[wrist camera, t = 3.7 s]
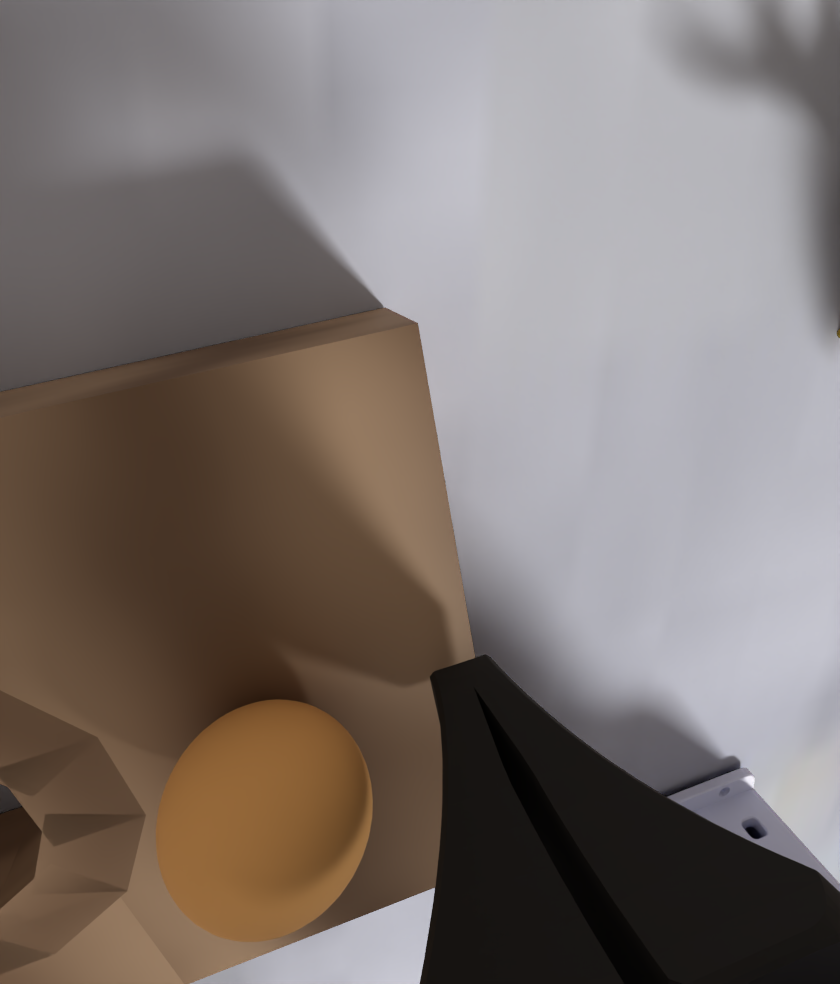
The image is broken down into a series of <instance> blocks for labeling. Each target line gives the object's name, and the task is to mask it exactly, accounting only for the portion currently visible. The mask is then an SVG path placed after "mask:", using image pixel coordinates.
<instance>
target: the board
mask: <svg viewBox="0 0 840 984" xmlns="http://www.w3.org/2000/svg"><path fill="white" fill-rule="evenodd" d="M473 658H475V653H474V648H473V642H472V636H471V630H470V624H469V619H468V613H467V607H466V601H465V595H464V589H463V584H462V578H461V572H460V566H459V560H458V555H457V549H456V543H455V537H454V531H453V525H452V520H451V514H450V508H449V502H448V496H447V491H446V485H445V479H444V473H443V467H442V462H441V456H440V450H439V444H438V438H437V432H436V427H435V421H434V415H433V409H432V403H431V398H430V392H429V386H428V380H427V374H426V368H425V363H424V357H423V351H422V345H421V339H420V334H419V328H418V323H416V322H414V321H412V320H410V319H408V318H406V317H404V316H402V315H400V314H397V313H395V312H393V311H391V310H389V309H387V308H381V309H376V310H371V311H367V312H362V313H358V314H353V315H349V316H344V317H340V318H335V319H330V320H326V321H321V322H317V323H312V324H308V325H303V326H299V327H294V328H289V329H285V330H280V331H276V332H271V333H267V334H262V335H257V336H253V337H248V338H244V339H239V340H235V341H230V342H226V343H221V344H216V345H212V346H207V347H203V348H198V349H194V350H189V351H185V352H180V353H175V354H171V355H166V356H162V357H157V358H153V359H148V360H143V361H139V362H134V363H130V364H125V365H121V366H116V367H112V368H107V369H102V370H98V371H93V372H89V373H84V374H80V375H75V376H71V377H66V378H61V379H57V380H52V381H48V382H43V383H39V384H34V385H30V386H25V387H20V388H16V389H11V390H7V391H2V392H0V784H1V785H4V786H6V787H8V788H9V789H10V791H11V792H12V793H13V795H14V796H15V797H16V798H17V800H18V801H19V802H20V804H21V805H22V806H23V807H20V808H17V809H14V810H11V811H8V812H5V813H2V814H0V984H189V983H192V982H195V981H197V980H200V979H202V978H205V977H207V976H210V975H212V974H215V973H218V972H220V971H223V970H225V969H228V968H230V967H233V966H235V965H238V964H241V963H243V962H246V961H248V960H251V959H253V958H256V957H258V956H261V955H264V954H266V953H269V952H271V951H274V950H276V949H279V948H281V947H284V946H286V945H289V944H292V943H294V942H297V941H299V940H302V939H304V938H307V937H309V936H312V935H315V934H317V933H320V932H322V931H325V930H327V929H330V928H332V927H335V926H338V925H340V924H343V923H345V922H348V921H350V920H353V919H355V918H358V917H361V916H363V915H366V914H368V913H371V912H373V911H376V910H378V909H381V908H384V907H386V906H389V905H391V904H394V903H396V902H399V901H401V900H404V899H407V898H409V897H412V896H414V895H417V894H419V893H422V892H424V891H427V890H430V889H432V888H435V886H436V877H437V867H438V858H439V847H440V834H441V818H442V744H441V729H440V722H439V718H438V713H437V709H436V704H435V700H434V695H433V690H432V686H431V681H430V676H431V674H432V673H433V672H434V671H437V670H440V669H443V668H446V667H449V666H452V665H455V664H458V663H461V662H464V661H467V660H470V659H473ZM275 699H280V700H292V701H298V702H302V703H306V704H309V705H312V706H314V707H317V708H318V709H320V710H322V711H324V712H326V713H327V714H329V715H331V716H332V717H333V718H335V719H336V720H337V721H338V722H339V723H340V724H341V725H342V726H343V727H344V728H345V729H346V730H347V731H348V732H349V734H350V735H351V736H352V738H353V739H354V741H355V742H356V744H357V745H358V747H359V749H360V751H361V753H362V755H363V758H364V760H365V762H366V765H367V768H368V772H369V776H370V781H371V787H372V797H373V811H372V821H371V828H370V833H369V838H368V842H367V845H366V848H365V851H364V854H363V857H362V859H361V861H360V863H359V866H358V868H357V870H356V872H355V874H354V876H353V877H352V879H351V880H350V882H349V883H348V885H347V886H346V888H345V889H344V891H343V892H342V893H341V895H340V896H339V897H338V898H337V899H336V900H335V902H334V903H333V904H332V905H331V906H330V907H329V908H328V909H327V910H326V911H325V912H323V913H322V914H321V915H320V916H319V917H317V918H316V919H315V920H313V921H312V922H310V923H309V924H307V925H305V926H304V927H302V928H301V929H299V930H297V931H295V932H293V933H290V934H288V935H285V936H282V937H280V938H276V939H272V940H267V941H260V942H239V941H233V940H228V939H224V938H221V937H218V936H215V935H213V934H211V933H209V932H207V931H206V930H204V929H202V928H200V927H199V926H197V925H196V924H195V923H193V922H192V921H191V920H190V919H189V918H188V917H187V916H186V915H185V914H184V913H183V912H182V911H181V910H180V909H179V907H178V906H177V905H176V903H175V902H174V900H173V899H172V897H171V896H170V894H169V892H168V890H167V888H166V885H165V883H164V881H163V878H162V875H161V872H160V868H159V863H158V859H157V851H156V824H157V816H158V809H159V805H160V801H161V798H162V794H163V791H164V789H165V786H166V783H167V781H168V779H169V776H170V774H171V772H172V770H173V769H174V767H175V765H176V763H177V762H178V760H179V759H180V757H181V755H182V754H183V753H184V751H185V750H186V749H187V747H188V746H189V745H190V744H191V743H192V742H193V740H194V739H195V738H196V737H197V736H198V735H199V734H200V733H201V732H202V731H203V730H204V729H206V728H207V727H208V726H209V725H211V724H212V723H213V722H215V721H216V720H217V719H219V718H220V717H222V716H224V715H225V714H227V713H229V712H231V711H233V710H235V709H237V708H240V707H242V706H245V705H248V704H251V703H255V702H259V701H265V700H275Z"/></svg>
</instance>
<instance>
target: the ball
mask: <svg viewBox="0 0 840 984" xmlns="http://www.w3.org/2000/svg"><path fill="white" fill-rule="evenodd" d="M372 811H373V797H372V787H371V781H370V776H369V772H368V768H367V765H366V762H365V760H364V758H363V755H362V753H361V751H360V749H359V747H358V745H357V744H356V742H355V741H354V739H353V738H352V736H351V735H350V734H349V732H348V731H347V730H346V729H345V728H344V727H343V726H342V725H341V724H340V723H339V722H338V721H337V720H336V719H335V718H333V717H332V716H331V715H329V714H327V713H326V712H324V711H322V710H320V709H318V708H317V707H314V706H312V705H309V704H306V703H302V702H298V701H292V700H280V699H275V700H265V701H259V702H255V703H251V704H248V705H245V706H242V707H240V708H237V709H235V710H233V711H231V712H229V713H227V714H225V715H224V716H222V717H220V718H219V719H217V720H216V721H215V722H213V723H212V724H211V725H209V726H208V727H207V728H206V729H204V730H203V731H202V732H201V733H200V734H199V735H198V736H197V737H196V738H195V739H194V740H193V742H192V743H191V744H190V745H189V746H188V747H187V749H186V750H185V751H184V753H183V754H182V755H181V757H180V759H179V760H178V762H177V763H176V765H175V767H174V769H173V770H172V772H171V774H170V776H169V779H168V781H167V783H166V786H165V789H164V791H163V794H162V798H161V801H160V805H159V809H158V816H157V824H156V851H157V859H158V863H159V868H160V872H161V875H162V878H163V881H164V883H165V885H166V888H167V890H168V892H169V894H170V896H171V897H172V899H173V900H174V902H175V903H176V905H177V906H178V907H179V909H180V910H181V911H182V912H183V913H184V914H185V915H186V916H187V917H188V918H189V919H190V920H191V921H192V922H193V923H195V924H196V925H197V926H199V927H200V928H202V929H204V930H206V931H207V932H209V933H211V934H213V935H215V936H218V937H221V938H224V939H228V940H233V941H239V942H260V941H267V940H272V939H276V938H280V937H282V936H285V935H288V934H290V933H293V932H295V931H297V930H299V929H301V928H302V927H304V926H305V925H307V924H309V923H310V922H312V921H313V920H315V919H316V918H317V917H319V916H320V915H321V914H322V913H323V912H325V911H326V910H327V909H328V908H329V907H330V906H331V905H332V904H333V903H334V902H335V900H336V899H337V898H338V897H339V896H340V895H341V893H342V892H343V891H344V889H345V888H346V886H347V885H348V883H349V882H350V880H351V879H352V877H353V876H354V874H355V872H356V870H357V868H358V866H359V863H360V861H361V859H362V857H363V854H364V851H365V848H366V845H367V842H368V838H369V833H370V828H371V821H372Z"/></svg>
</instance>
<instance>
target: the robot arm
mask: <svg viewBox="0 0 840 984" xmlns="http://www.w3.org/2000/svg"><path fill="white" fill-rule="evenodd" d="M430 681H431V686H432V690H433V695H434V700H435V704H436V709H437V713H438V718H439V722H440V729H441V744H442V818H441V834H440V847H439V858H438V867H437V877H436V886H435V894H434V902H433V909H432V915H431V921H430V927H429V934H428V940H427V946H426V952H425V959H424V964H423V969H422V975H421V980H420V984H840V884H839V882H838V881H837V880H836V879H835V878H834V877H833V876H832V875H831V874H830V872H829V871H828V870H827V869H826V868H825V867H824V866H823V865H822V864H821V863H820V861H819V860H818V859H817V858H816V857H815V856H814V855H813V854H812V853H811V852H810V850H809V849H808V848H807V847H806V846H805V845H804V844H803V843H802V842H801V840H800V839H799V838H798V837H797V836H796V835H795V834H794V833H793V832H792V831H791V829H790V828H789V827H788V826H787V825H786V824H785V823H784V822H783V821H782V819H781V818H780V817H779V816H778V815H777V814H776V813H775V812H774V811H773V810H772V808H771V807H770V806H769V805H768V804H767V803H766V802H765V801H764V800H763V798H762V797H761V796H760V795H759V794H758V793H757V792H756V791H755V790H754V789H753V787H754V780H755V778H754V775H753V774H752V773H751V772H750V771H749V770H748V769H747V768H739V769H736V770H734V771H731V772H729V773H726V774H724V775H721V776H719V777H716V778H713V779H711V780H708V781H706V782H703V783H701V784H698V785H696V786H693V787H691V788H688V789H685V790H683V791H680V792H678V793H675V794H673V795H670V796H668V797H666V796H664V795H662V794H661V793H659V792H657V791H656V790H654V789H652V788H651V787H649V786H648V785H646V784H644V783H643V782H641V781H640V780H638V779H636V778H635V777H633V776H632V775H630V774H629V773H627V772H626V771H624V770H623V769H621V768H620V767H618V766H617V765H615V764H614V763H612V762H611V761H609V760H608V759H606V758H605V757H604V756H602V755H601V754H599V753H598V752H597V751H595V750H594V749H593V748H591V747H590V746H589V745H587V744H586V743H585V742H583V741H582V740H581V739H579V738H578V737H577V736H575V735H574V734H573V733H572V732H570V731H569V730H568V729H567V728H565V727H564V726H563V725H562V724H560V723H559V722H558V721H557V720H556V719H555V718H553V717H552V716H551V715H550V714H549V713H548V712H546V711H545V710H544V709H543V708H542V707H541V706H539V705H538V704H537V703H536V702H535V701H534V700H533V699H532V698H530V697H529V696H528V695H527V694H526V693H525V692H524V691H523V690H522V689H521V688H520V687H519V686H518V685H517V684H516V683H515V682H514V681H513V680H511V679H510V678H509V677H508V676H507V674H506V673H505V672H504V671H503V670H502V669H501V668H500V667H499V666H498V665H497V664H496V663H495V662H494V661H493V660H492V658H491V657H489V656H487V655H483V656H479V657H476V658H473V659H470V660H467V661H464V662H461V663H458V664H455V665H452V666H449V667H446V668H443V669H440V670H437V671H434V672H433V673H432V674H431V676H430Z"/></svg>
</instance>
